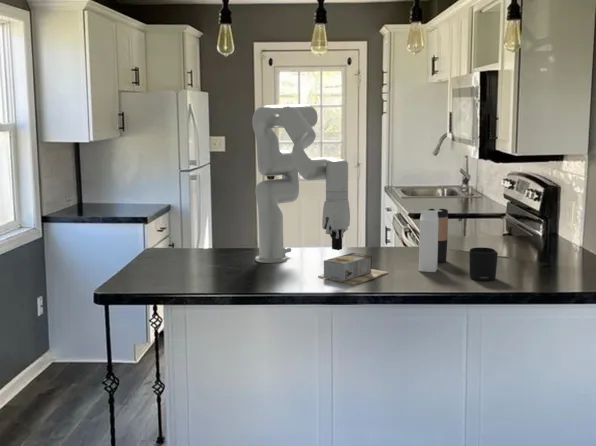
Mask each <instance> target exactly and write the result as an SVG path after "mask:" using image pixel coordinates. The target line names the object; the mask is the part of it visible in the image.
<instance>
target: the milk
mask: <svg viewBox="0 0 596 446" xmlns="http://www.w3.org/2000/svg"><path fill="white" fill-rule="evenodd" d="M418 234H419V238H418V240H419V241H418V243H419V244H418V246H419V247H418V272H422V273H423V272H426V273H436V272H437V270H438V263H437V257H438V211H430V210H429V209H428V210H426V209H423V210H422V209H421V211H420V217H419V233H418Z"/></svg>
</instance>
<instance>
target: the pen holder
mask: <svg viewBox="0 0 596 446" xmlns="http://www.w3.org/2000/svg"><path fill="white" fill-rule="evenodd" d="M468 254H469V278H470V279H471V280H473V281H479V282H491V281H495V279H496V276H497V265H498V254H499V253H498V252H497V251H496V250H495V249H494V248H491V247H473V248H472V247H471V248H470V249H469V253H468Z"/></svg>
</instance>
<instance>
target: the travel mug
mask: <svg viewBox="0 0 596 446" xmlns="http://www.w3.org/2000/svg"><path fill="white" fill-rule="evenodd" d="M428 210H430V211H438V257H437V264H443V263H446V262H447V256H448V231H449V228H448V227H449V225H448V224H449V220H448V218H449V210H448V209H447V208H439V209H435V208H429V209H428Z"/></svg>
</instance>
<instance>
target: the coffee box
mask: <svg viewBox="0 0 596 446" xmlns="http://www.w3.org/2000/svg"><path fill="white" fill-rule="evenodd" d="M372 257H373V256H372V255H367V254H362V253H355V252H351V253H347V254H343V255H340V256H335V257H332V258H328V259H324V260H323V274H324V277H325V278H330V279H335V280H340V281H345V280H348V279H352V278H355V277H358V276H362V275H365V274H368V273H371V269H372V267H373V260H372V259H373V258H372Z"/></svg>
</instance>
